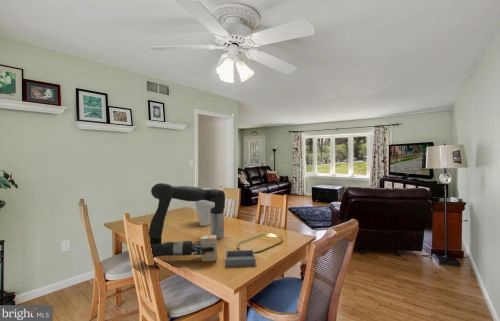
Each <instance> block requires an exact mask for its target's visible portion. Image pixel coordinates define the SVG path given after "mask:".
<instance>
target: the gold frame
mask: <svg viewBox="0 0 500 321" xmlns="http://www.w3.org/2000/svg"><path fill="white" fill-rule="evenodd" d="M264 237H273V238H277V239H279V240H280V241H279V242H277V243H274V244H273V245H271V246H270V245H269V246H268V247H266V248H263V249H261V250H256V251H255V250H254V254H255V253H260V252H263V251H265V250H268V249H271V248H272V247H275V246H277V245H279V244H281V243H282V242H283V237H282V236H281V235H278V234H275V233H261V234H258V235H255V236H253V237H250V238H247V239H245V240H242V241H240V242H238V243H237V244H236V248H237V250H241V248H240V246H241V244H242V245H244V244H246V243H249V242H251V241H253V240H257V239H260V238H264Z"/></svg>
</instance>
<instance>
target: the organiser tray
mask: <svg viewBox="0 0 500 321" xmlns="http://www.w3.org/2000/svg"><path fill="white" fill-rule="evenodd" d="M254 251H255V250H254V249H240V250H239V249H237V250H226V251H225V268H228V267H248V266H249V267H250V266H252V267H255V266H256V256H255V253H254Z"/></svg>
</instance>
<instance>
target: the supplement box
mask: <svg viewBox="0 0 500 321" xmlns="http://www.w3.org/2000/svg"><path fill="white" fill-rule="evenodd" d="M200 241H201V246H203V247H206V248H207V247H213V248H214V251H213V252H206V253H205V254H201V255H200V256H201V262H202V263H203V262H205V263H206V262H217V259H218V242H217V241H218V240H217V235H211V234H210V235H202V236H201V238H200Z"/></svg>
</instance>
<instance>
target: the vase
mask: <svg viewBox="0 0 500 321" xmlns="http://www.w3.org/2000/svg"><path fill="white" fill-rule="evenodd" d="M201 189H205V190H209V189H210V188H205V187H204V188H201ZM194 206H195V211H196V214H197V217H198V221H199V223H198V224H199V226H201V227H207V226H209V225H210V221H211V208H213V207H214V202H210V201H206V200H200V201H194Z"/></svg>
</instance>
